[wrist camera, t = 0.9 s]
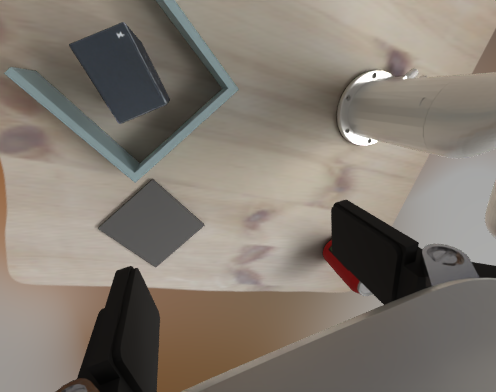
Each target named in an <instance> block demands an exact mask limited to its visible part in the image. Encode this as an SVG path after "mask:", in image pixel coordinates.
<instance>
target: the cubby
mask: <svg viewBox="0 0 496 392" xmlns="http://www.w3.org/2000/svg"><path fill="white" fill-rule="evenodd" d="M156 2H157V3H158V4H159V6H160V7H161V8H162V10H163V11H164V12H165V13H166V15H167V16H168V17H169V19H170V20H171V21H172V23H173V24H174V25H175V27H176V28H177V29H178V31H179V32H180V33H181V35H182V36H183V37H184V39H185V40H186V41H187V43H188V44H189V45H190V47H191V48H192V49H193V51H194V52H195V53H196V54H197V56H198V57H199V58H200V60H201V61H202V62H203V64H204V65H205V66H206V68H207V69H208V70H209V72H210V73H211V74H212V76H213V77H214V78H215V80H216V81H217V82H218V84H219V85H220V86H221V88H222V90H221V91H219V92H218V93H217V94H216V95H215V96H214V97H213V98H212V99H211V100H209V101H208V102H207V103H206V104H205V105H204V106H203V107H202V108H201V109H200V110H198V111H197V112H196V113H195V114H194V115H193V116H192V117H191V118H190V119H188V120H187V121H186V122H185V123H184V124H183V125H182V126H181V127H180V128H179V129H177V130H176V131H175V132H174V133H173V134H172V135H171V136H170V137H169V138H167V139H166V140H165V141H164V142H163V143H162V144H161V145H160V146H159V147H158V148H156V149H155V150H154V151H153V152H152V153H151V154H150V155H149V156H148V157H146V158H145V159H144V160H143V161H142V162H141V163H139V162H138V161H137V160H136V159H134V158H133V157H132V156H131V155H130V154H129V153H128V152H127V151H125V150H124V149H123V148H122V147H121V146H120V145H119V144H118V143H116V142H115V141H114V140H113V139H112V138H111V137H110V136H109V135H107V134H106V133H105V132H104V131H103V130H102V129H101V128H100V127H99V126H97V125H96V124H95V123H94V122H93V121H92V120H91V119H90V118H88V117H87V116H86V115H85V114H84V113H83V112H82V111H81V110H79V109H78V108H77V107H76V106H75V105H74V104H73V103H72V102H70V101H69V100H68V99H67V98H66V97H65V96H64V95H63V94H61V93H60V92H59V91H58V90H57V89H56V88H55V87H54V86H52V85H51V84H50V83H49V82H48V81H47V80H46V79H45V78H43V77H42V76H41V75H40V74H39V73H38V72H37V71H34V70H27V69H21V68H14V67H10V68H9V69H8V70H7V71H6V72H5V73H4V74H5V75H7V76H8V77H9V78H10V79H11V80H13V81H14V82H15V83H16V84H17V85H19V86H20V87H21V88H22V89H23V90H25V91H26V92H27V93H28V94H29V95H31V96H32V97H33V98H34V99H35V100H37V101H38V102H39V103H40V104H41V105H43V106H44V107H45V108H46V109H47V110H49V111H50V112H51V113H52V114H53V115H55V116H56V117H57V118H58V119H59V120H61V121H62V122H63V123H64V124H65V125H67V126H68V127H69V128H70V129H71V130H73V131H74V132H75V133H76V134H77V135H79V136H80V137H81V138H82V139H83V140H85V141H86V142H87V143H88V144H89V145H91V146H92V147H93V148H94V149H95V150H96V151H98V152H99V153H100V154H101V155H102V156H104V157H105V158H106V159H107V160H108V161H110V162H111V163H112V164H113V165H114V166H116V167H117V168H118V169H119V170H120V171H122V172H123V173H124V174H125V175H126V176H128V177H129V178H130V179H131V180H132V181H134V182H135V183H136V182H137V181H138V180H139V179H140V178H141V177H142V176H143V175H144V174H146V173H147V172H148V171H149V170H150V169H151V168H152V167H153V166H154V165H156V164H157V163H158V162H159V161H160V160H161V159H162V158H163V157H164V156H166V155H167V154H168V153H169V152H170V151H171V150H172V149H173V148H174V147H176V146H177V145H178V144H179V143H180V142H181V141H182V140H183V139H184V138H186V137H187V136H188V135H189V134H190V133H191V132H192V131H193V130H195V129H196V128H197V127H198V126H199V125H200V124H201V123H202V122H203V121H205V120H206V119H207V118H208V117H209V116H210V115H211V114H212V113H213V112H215V111H216V110H217V109H218V108H219V107H220V106H221V105H222V104H223V103H225V102H226V101H227V100H228V99H229V98H230V97H231V96H232V95H233V94H235V93H236V92H237V91H238V90H239V89H238V88H237V86H236V85H235V83H234V82H233V81H232V79H231V78H230V76H229V75H228V74H227V72H226V71H225V70H224V68H223V67H222V65H221V64H220V63H219V61H218V60H217V58H216V57H215V56H214V54H213V53H212V52H211V50H210V49H209V47H208V46H207V45H206V43H205V42H204V40H203V39H202V38H201V36H200V35H199V33H198V32H197V31H196V29H195V28H194V27H193V25H192V24H191V22H190V21H189V20H188V18H187V17H186V15H185V14H184V13H183V11H182V10H181V8H180V7H179V6H178V4H177V3H176V2H175V0H156Z"/></svg>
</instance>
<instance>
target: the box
mask: <svg viewBox="0 0 496 392" xmlns="http://www.w3.org/2000/svg"><path fill="white" fill-rule="evenodd" d="M69 46H70V48H71V49H72V51H73V52H74V54H75V56H76V57H77V59H78V60H79V62H80V63H81V65H82V66H83V68H84V70H85V71H86V73H87V74H88V76H89V77H90V79H91V81H92V82H93V84H94V85H95V87H96V89H97V90H98V92H99V93H100V95H101V96H102V98H103V100H104V101H105V103H106V104H107V106H108V107H109V109H110V111H111V112H112V114H113V115H114V117H115V119H116V120H117V122H118V123H119V124H121V123H124V122H126V121H129V120H131V119H134V118H136V117H138V116H141V115H143V114H145V113H148V112H150V111H153V110H155V109H157V108H160V107H162V106H165V105H167V103H168V102H169V101H170V99H169V96H168V94H167V92H166V90H165V88H164V86H163V84H162V82H161V80H160V78H159V76H158V74H157V72H156V70H155V68H154V66H153V64H152V62H151V60H150V58H149V56H148V54H147V52H146V50H145V48H144V46H143V44H142V42H141V41H140V40H139V39H138V38H137V37H136V35H135V34H134V33H133V32H132V31H131V29H130V28H129V27H128V26H127V25H126V24H125V23H124V22H122V23H119V24H117V25H115V26H112V27H110V28H108V29H105V30H103V31H100V32H98V33H95V34H93V35H91V36H88V37H86V38H83V39H81V40H78V41H76V42H73V43H71V44H69Z"/></svg>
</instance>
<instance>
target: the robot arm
mask: <svg viewBox="0 0 496 392" xmlns="http://www.w3.org/2000/svg"><path fill="white" fill-rule="evenodd" d="M417 75H418V70H417V69H414V68H413V69H411V70H410V71H409V72H408V73H407V74H406V75H405V76H401V77H394V76H393V75H391V74H390V73H388V72H386V71H383V70H374V71H368V72H365V73H363V74H361V75H359V76H358V77H356V78H355V79H354V80H353V81H352V82H351V83H350V84H349V85H348V87H347V88H346V89H345V91H344V93H343V94H342V97H341V99H340V102H339V106H338V111H337V123H338V127H339V130H340V132H341V134H342V135H343V137H344V138H345V139H346V140H347V141H349V142H350V143H353V144H356V145H361V146H366V145H371V144H373V143H376V142H377V141H380V142H385V143H389V144H393V145H397V146H401V147H405V148H410V149H414V150H418V151H422V152H426V153H430V154H435V155H439V156H444V157H448V158H468V157H473V156H477V155H480V154H483V153H486V152H488V151H491V150H493V149H496V72H494V73H482V74H467V75H453V76H437V77H427V76H424V75H423V76H420V77H419V78H415V77H416V76H417ZM331 220H332V252H333V254H334V256H335V257H336V258H337V259H338V260H339V261H340V262H341V263H342V264H343V265H344V266H345V267H346V268H347V269H348V270H349V271H350V272H351V273H352V274H353V275H354V276H355V277H356V278H357V279H358V280H359V281H360V282H361V283H362V284H363V285H364V286H365V287H366V288H367V289H368V290H369V291H370V292H372V293H373V294H374V295H375V296H376V297H377V298H378V299H379V300H380V301H381V302H382V303H383V304H384V305H383V306H380V307H378V308H376V309H374V310H371V311H369V312H366V313H364V314H361V315H359V316H356V317H354V318H352V319H349V320H347V321H344V322H342V323H340V324H337V325H335V326H333V327H330V328H328V329H326V330H323V331H321V332H318V333H316V334H314V335H311V336H309V337H307V338H304V339H302V340H300V341H298V342H295V343H292V344H290V345H288V346H285V347H283V348H281V349H279V350H276V351H274V352H271V353H269V354H267V355H264V356H262V357H260V358H257V359H255V360H253V361H250V362H248V363H246V364H243V365H241V366H239V367H237V368H234V369H232V370H230V371H227V372H225V373H222V374H220V375H218V376H216V377H213V378H211V379H209V380H206V381H204V382H202V383H200V384H197V385H195V386H193V387H191V388H189V389H186V390H184V391H182V392H496V266H492V265H486V264H480V263H474V262H471V261H470V259H469V257H468V256H467V255H466V254H465V253H463V252H462V251H461V250H458V249H457V248H454V247H451V246H448V245H443V244H430V245H427V246H425V247H424V248H423V249H421V248H419V247H418V244H419V243H418V242H417V241H415V240H413V239H412V238H410V237H408V236H407V235H405V234H403V233H402V232H399V231H398V230H396V229H394V228H393V227H391V226H390V225H388V224H386V223H385V222H383V221H381V220H380V219H378V218H376V217H375V216H373V215H371V214H370V213H368V212H366V211H365V210H363V209H361V208H360V207H358V206H356V205H355V204H353V203H351V202H350V201H348V200H343V201H340V202H337V203H335V204H334V207H332V209H331ZM485 223H486V226H487V229H488V230H489V232H490V233H491V235H492V236H494V237H495V238H496V180H495V183H494V186H493V189H492V192H491V195H490V199H489V203H488V206H487V209H486V215H485ZM159 327H160V316H159V311H158V309H157V307H156V305H155V303H154V301H153V299H152V296H151V295H150V292H149V290H148V288H147V286H146V284H145V282H144V279H143V277H142V275H141V273H140V271H139V269H138V268H135V269H134V268H133V267H132V266H130V267H127V268H123V269H120V270H117V271H116V273H115V276H114V280H113V283H112V286H111V289H110V293H109V296H108V299H107V302H106V306H105V308H104V309H102V310H101V311H100V312H99V314H98V317H97V320H96V323H95V326H94V329H93V332H92V335H91V338H90V341H89V344H88V347H87V350H86V353H85V356H84V359H83V363H82V365H81V368H80V371H79V375H78V378H77V379H76V380H73V381H71V382H69V383H67V384H65V385H63V386H62V387H61V388H60V389H58V390H57V391H56V392H157V391H156V390H157V370H158V348H159Z"/></svg>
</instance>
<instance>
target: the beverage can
mask: <svg viewBox="0 0 496 392" xmlns="http://www.w3.org/2000/svg"><path fill="white" fill-rule="evenodd" d="M323 257H324V259H325V260H326V261H327V262H328V263H329V265H330V266H331V267H332V268H333V269H334V270H335V272H336V273H337V274H338V275H339V276H340V277H341V278H342V280H343V281H344V282H345V283H346V284H347V285H348V286H349V287H350V289H351V290H352V291H354V292H356V293H360V294H361V295H363V296H369V295H372V294H373V293H372V292H370V291H369V290H368V289H367V288H366V287H365V286H364V285H363V284H362V283H361V282H360V281H359V280H358V279H357V278H356V277H355V276H354V275H353V274H352V273H351V272H350V271H349V270H348V269H347V268H346V267H345V266H344V265H343V264H342V263H341V262H340V261H339V260H338V259H337V258H336V257H335V256H334V254H333V252H332V240H330V241H329V242H328V243H327V244H326V245H325V247H324V250H323Z"/></svg>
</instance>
